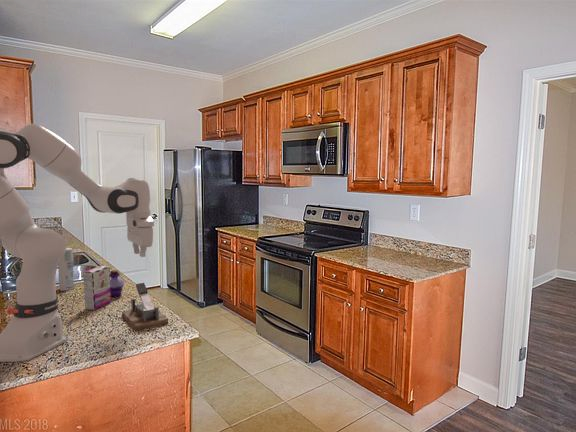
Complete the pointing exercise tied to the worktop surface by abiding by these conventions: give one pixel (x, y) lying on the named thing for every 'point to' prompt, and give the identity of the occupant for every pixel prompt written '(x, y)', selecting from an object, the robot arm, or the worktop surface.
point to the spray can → (66, 270)
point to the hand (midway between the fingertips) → (139, 255)
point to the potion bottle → (116, 284)
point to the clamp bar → (144, 297)
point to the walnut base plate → (139, 325)
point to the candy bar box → (97, 287)
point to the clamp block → (144, 311)
